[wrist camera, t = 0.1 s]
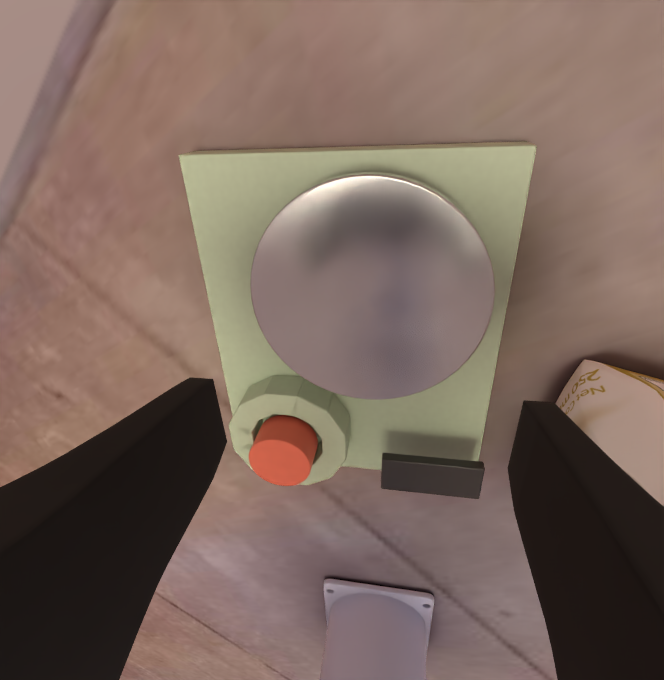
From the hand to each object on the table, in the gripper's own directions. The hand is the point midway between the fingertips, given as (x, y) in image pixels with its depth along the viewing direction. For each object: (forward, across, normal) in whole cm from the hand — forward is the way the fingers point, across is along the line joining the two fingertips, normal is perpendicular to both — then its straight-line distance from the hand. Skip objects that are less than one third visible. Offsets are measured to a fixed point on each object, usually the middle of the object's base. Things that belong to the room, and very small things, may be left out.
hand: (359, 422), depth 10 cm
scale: (+10, +2, +3) cm, 11 cm away
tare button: (+7, +5, +8) cm, 12 cm away
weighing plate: (+7, 0, +3) cm, 8 cm away
